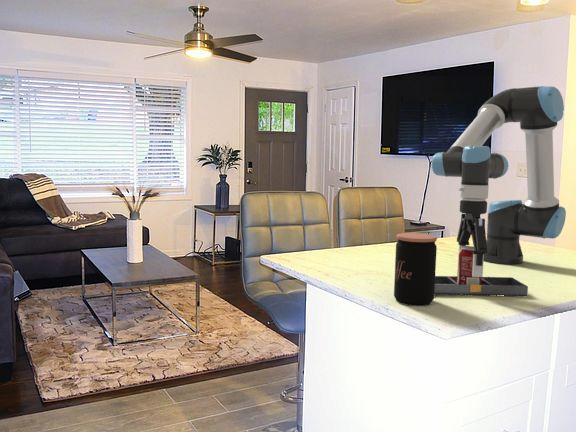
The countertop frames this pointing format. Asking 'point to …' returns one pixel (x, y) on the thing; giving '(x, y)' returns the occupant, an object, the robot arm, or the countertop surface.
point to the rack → (480, 287)
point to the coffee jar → (415, 269)
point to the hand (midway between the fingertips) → (469, 271)
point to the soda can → (466, 267)
